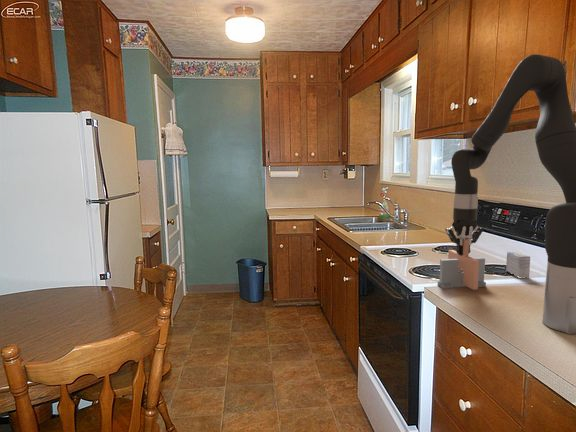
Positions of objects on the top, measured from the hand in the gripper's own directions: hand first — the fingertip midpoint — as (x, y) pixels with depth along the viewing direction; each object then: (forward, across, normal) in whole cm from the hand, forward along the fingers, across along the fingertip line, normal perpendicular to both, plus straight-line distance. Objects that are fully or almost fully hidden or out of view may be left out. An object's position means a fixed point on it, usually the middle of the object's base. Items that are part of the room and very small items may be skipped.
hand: (463, 254), depth 126 cm
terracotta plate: (+10, 0, 0) cm, 10 cm away
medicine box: (+12, +28, +8) cm, 31 cm away
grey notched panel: (+12, 0, 0) cm, 12 cm away
